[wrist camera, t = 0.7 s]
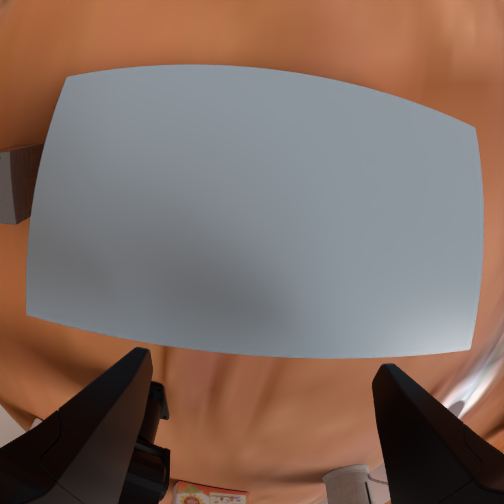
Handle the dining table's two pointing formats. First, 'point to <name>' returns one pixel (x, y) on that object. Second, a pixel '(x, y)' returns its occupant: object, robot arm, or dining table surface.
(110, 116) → the box lid
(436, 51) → the dining table surface
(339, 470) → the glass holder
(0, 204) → the block
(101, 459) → the robot arm
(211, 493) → the cracker box
